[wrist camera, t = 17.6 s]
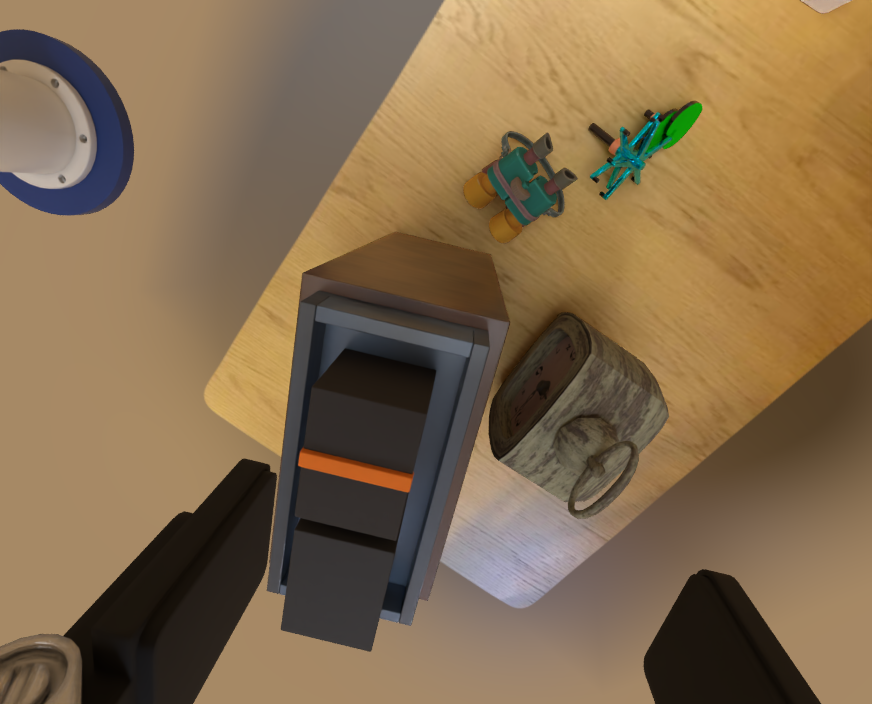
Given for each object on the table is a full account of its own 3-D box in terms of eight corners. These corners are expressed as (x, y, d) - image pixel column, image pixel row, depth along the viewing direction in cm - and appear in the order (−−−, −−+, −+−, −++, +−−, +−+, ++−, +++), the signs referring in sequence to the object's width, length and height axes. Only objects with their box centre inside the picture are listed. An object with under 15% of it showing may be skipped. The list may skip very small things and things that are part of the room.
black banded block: (326, 457, 25) (290, 521, 20) (343, 347, 23) (307, 389, 18) (411, 478, 25) (396, 546, 20) (437, 370, 23) (427, 417, 18)
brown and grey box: (366, 389, 56) (250, 596, 27) (395, 231, 49) (281, 281, 20) (450, 409, 56) (423, 638, 27) (491, 254, 49) (514, 337, 20)
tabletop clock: (560, 295, 50) (638, 385, 26) (622, 338, 51) (750, 462, 27) (486, 389, 54) (494, 538, 31) (544, 427, 55) (595, 598, 32)
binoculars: (490, 150, 47) (445, 182, 41) (559, 88, 40) (519, 114, 34) (539, 221, 49) (504, 262, 43) (613, 173, 42) (585, 213, 36)
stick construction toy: (601, 218, 44) (614, 162, 37) (556, 177, 47) (560, 118, 40) (696, 149, 44) (727, 81, 37) (645, 113, 47) (665, 42, 40)
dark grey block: (312, 557, 28) (280, 630, 23) (327, 468, 26) (294, 529, 21) (388, 576, 28) (371, 652, 23) (409, 488, 26) (395, 553, 21)
